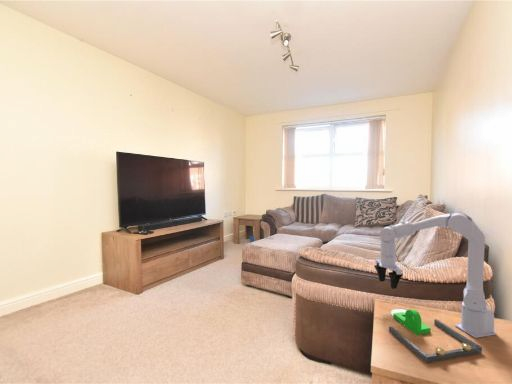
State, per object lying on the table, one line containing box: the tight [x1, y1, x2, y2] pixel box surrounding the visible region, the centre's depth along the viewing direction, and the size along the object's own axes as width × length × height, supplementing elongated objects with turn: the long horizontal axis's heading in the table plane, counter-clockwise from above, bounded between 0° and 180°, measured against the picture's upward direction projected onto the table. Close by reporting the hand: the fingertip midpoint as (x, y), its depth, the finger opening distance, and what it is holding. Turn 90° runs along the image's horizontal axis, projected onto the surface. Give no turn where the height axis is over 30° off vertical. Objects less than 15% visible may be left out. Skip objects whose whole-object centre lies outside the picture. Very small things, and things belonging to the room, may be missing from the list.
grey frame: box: [388, 318, 483, 364], centre depth 90 cm, size 21×18×3 cm
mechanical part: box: [392, 308, 431, 336], centre depth 101 cm, size 12×6×8 cm, turn 11°
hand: (387, 284), depth 114 cm, fingers open, 7 cm apart
